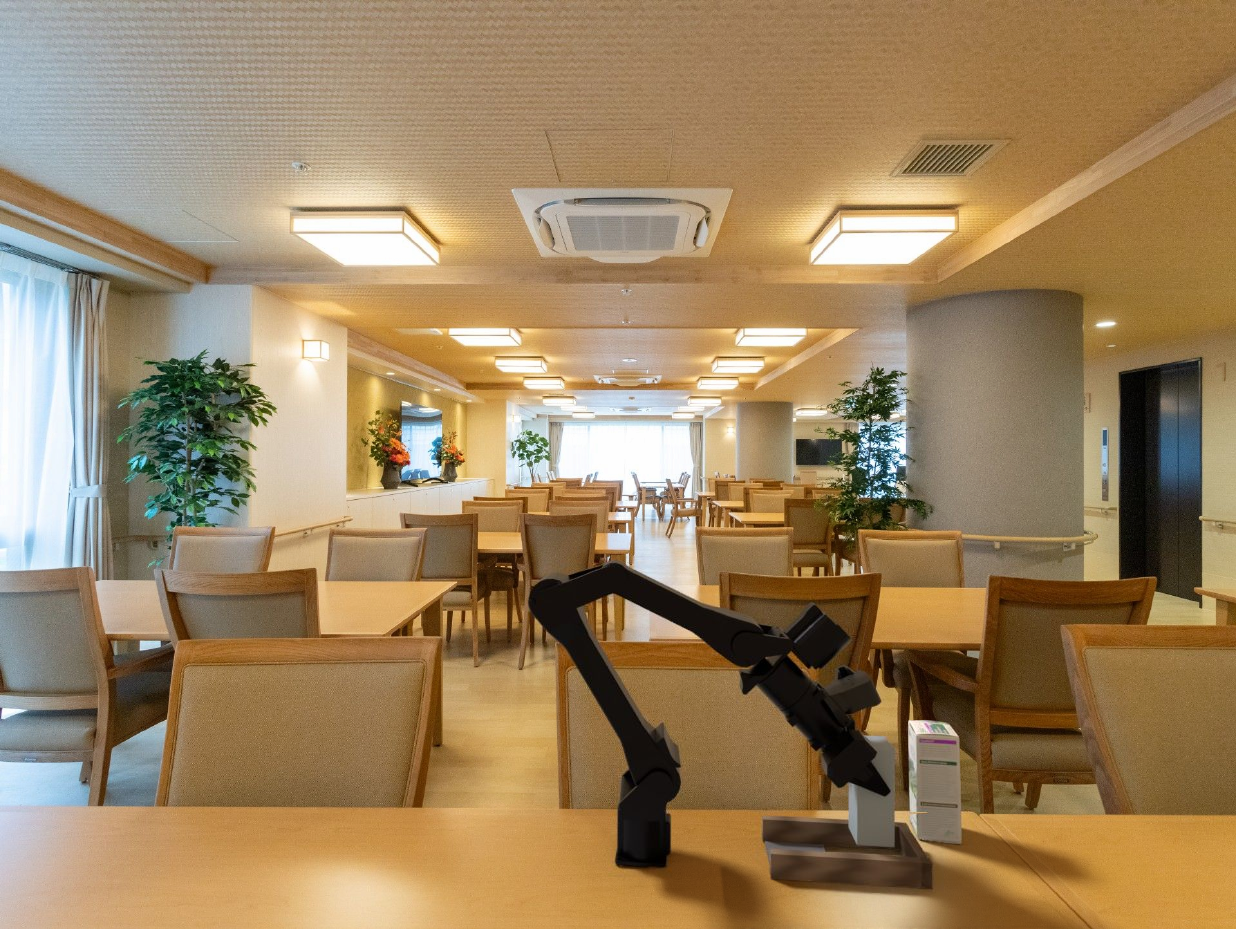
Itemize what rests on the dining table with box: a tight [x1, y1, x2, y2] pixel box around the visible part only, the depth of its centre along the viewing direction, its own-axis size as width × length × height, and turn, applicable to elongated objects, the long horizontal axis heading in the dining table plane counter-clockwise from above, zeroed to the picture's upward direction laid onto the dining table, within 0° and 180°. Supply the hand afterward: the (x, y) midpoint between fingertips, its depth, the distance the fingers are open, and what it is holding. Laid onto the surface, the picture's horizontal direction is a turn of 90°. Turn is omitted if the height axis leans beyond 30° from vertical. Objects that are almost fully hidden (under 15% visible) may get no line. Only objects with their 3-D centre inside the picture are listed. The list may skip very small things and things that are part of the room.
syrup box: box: [907, 719, 963, 845], centre depth 96 cm, size 6×6×14 cm
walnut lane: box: [761, 814, 934, 890], centre depth 88 cm, size 19×10×3 cm, turn 85°
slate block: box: [848, 734, 896, 847], centre depth 88 cm, size 4×4×12 cm
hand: (882, 785), depth 88 cm, fingers closed on slate block, 4 cm apart
